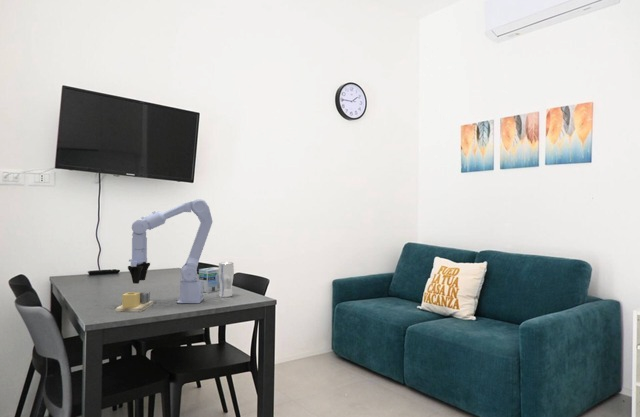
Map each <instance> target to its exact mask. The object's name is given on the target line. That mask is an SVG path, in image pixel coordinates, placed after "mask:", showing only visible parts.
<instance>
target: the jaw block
mask: <svg viewBox="0 0 640 417" xmlns="http://www.w3.org/2000/svg"><path fill="white" fill-rule="evenodd" d="M121 305H122V308H136V307H137V306H139V305H140V291H139V292H136V291H135V292H131V291H129V292H126V293H124V294H122V297H121Z"/></svg>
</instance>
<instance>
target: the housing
mask: <svg viewBox="0 0 640 417" xmlns="http://www.w3.org/2000/svg"><path fill="white" fill-rule="evenodd" d="M139 292H140V291H139ZM150 298H151V293H150V292H148V291H147V292H146V291H145V292H144V291H142V292H140V302H142V303H146V302H149V301H151V299H150Z"/></svg>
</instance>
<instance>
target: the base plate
mask: <svg viewBox="0 0 640 417" xmlns="http://www.w3.org/2000/svg"><path fill="white" fill-rule="evenodd" d="M153 302H154V301H153V300H150V301H149V302H146V303H142V302H140V305H139V306H137V307H136V308H122V304H121V305H119V306H117V307H115V309H114V311H115V313H117V312H118V313H119V312H123V313H125V312H132V313H133V312H138V313H139V312H143V311H144V310H146V309H148V308H149V307H151V306H152V305H153Z"/></svg>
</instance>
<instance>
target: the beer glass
mask: <svg viewBox="0 0 640 417" xmlns="http://www.w3.org/2000/svg"><path fill="white" fill-rule="evenodd" d="M234 267H235V266H234V262H231V261H229V262H227V261H226V262H225V261H223V262H219V263H218V267H217V268H218V277H219V284H220V291H218V292H219V294H218V297H220V298H229V297H230V298H231V297H233V290H232V289H233V280H234V274H235V268H234Z"/></svg>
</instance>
